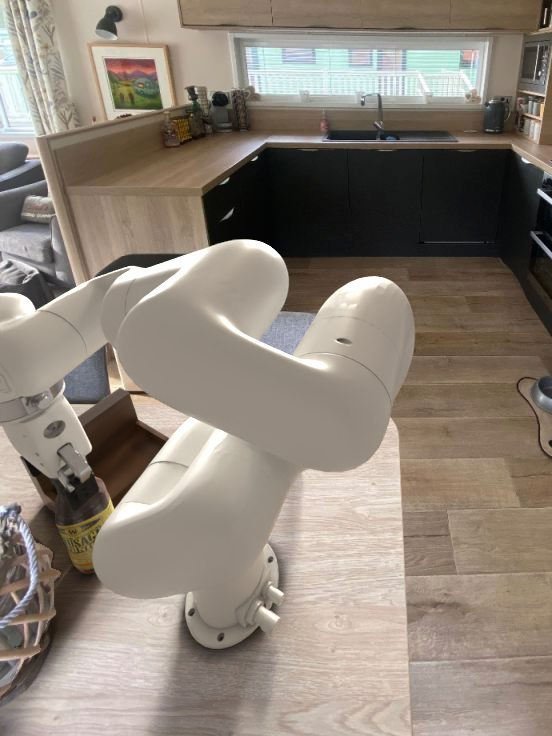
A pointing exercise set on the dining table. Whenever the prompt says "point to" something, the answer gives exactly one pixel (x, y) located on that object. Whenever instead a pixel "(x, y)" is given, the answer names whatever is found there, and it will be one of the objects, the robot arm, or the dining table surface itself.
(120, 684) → the dining table surface
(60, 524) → the sauce bottle
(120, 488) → the brown wooden box
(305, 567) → the dining table surface
